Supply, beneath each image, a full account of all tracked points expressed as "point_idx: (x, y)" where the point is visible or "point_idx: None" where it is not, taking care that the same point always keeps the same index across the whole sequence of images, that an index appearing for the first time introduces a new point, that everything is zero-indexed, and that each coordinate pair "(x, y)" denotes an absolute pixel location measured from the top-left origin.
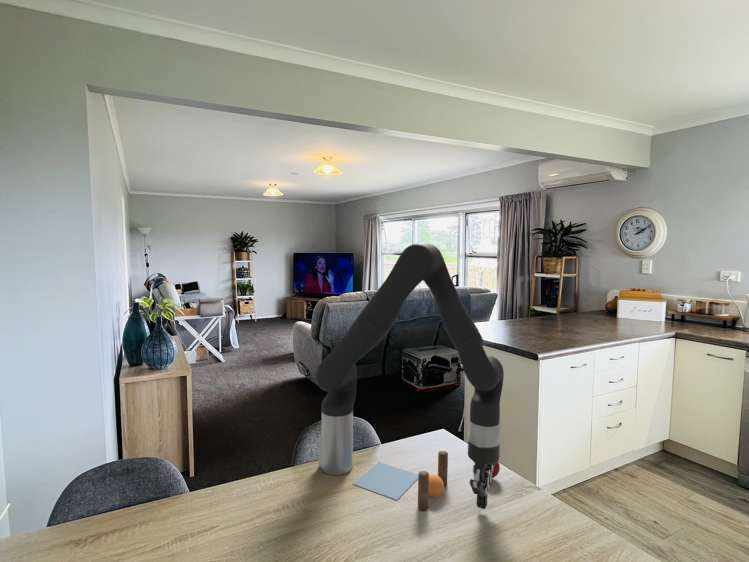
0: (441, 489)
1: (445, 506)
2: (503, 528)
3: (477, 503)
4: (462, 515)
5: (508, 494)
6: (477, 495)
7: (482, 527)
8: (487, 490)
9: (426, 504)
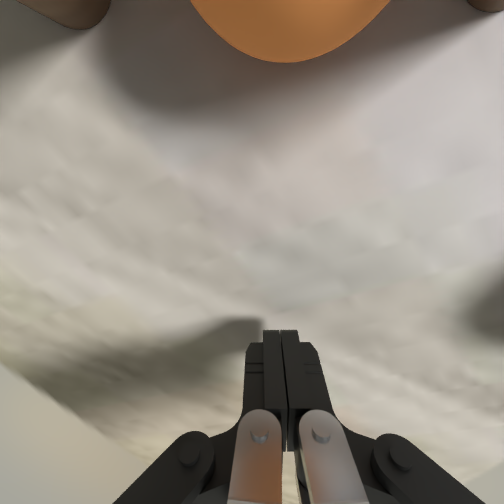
0: (252, 47)
1: (210, 136)
2: (223, 403)
3: (245, 357)
4: (195, 257)
5: (487, 374)
6: (263, 390)
7: (175, 350)
8: (296, 480)
9: (18, 1)
